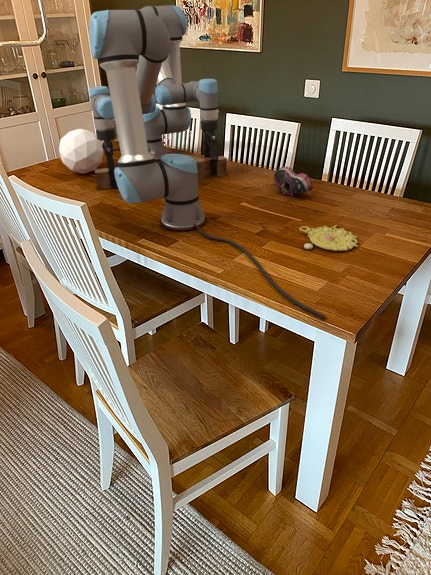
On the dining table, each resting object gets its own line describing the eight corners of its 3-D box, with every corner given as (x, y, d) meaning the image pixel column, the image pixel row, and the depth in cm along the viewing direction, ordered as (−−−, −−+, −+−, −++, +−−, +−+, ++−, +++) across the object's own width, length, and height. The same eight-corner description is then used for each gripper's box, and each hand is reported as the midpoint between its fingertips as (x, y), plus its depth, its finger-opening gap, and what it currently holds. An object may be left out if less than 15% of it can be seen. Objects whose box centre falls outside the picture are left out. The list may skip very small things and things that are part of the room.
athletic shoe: (283, 166, 186) (259, 173, 182) (313, 160, 166) (287, 167, 162) (289, 193, 189) (265, 200, 185) (319, 190, 169) (293, 198, 165)
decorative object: (343, 255, 128) (285, 234, 139) (342, 262, 130) (284, 241, 140) (372, 230, 142) (317, 213, 152) (371, 237, 143) (316, 219, 153)
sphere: (90, 188, 207) (76, 163, 188) (59, 168, 212) (42, 141, 193) (116, 160, 212) (105, 132, 193) (86, 141, 216) (72, 112, 198)
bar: (98, 189, 186) (95, 172, 182) (97, 185, 190) (94, 169, 186) (226, 175, 198) (226, 159, 194) (223, 171, 202) (223, 155, 198)
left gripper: (225, 124, 177) (226, 178, 189) (211, 113, 196) (212, 163, 208) (207, 126, 176) (209, 180, 188) (194, 115, 194) (197, 165, 206)
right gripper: (116, 133, 170) (124, 191, 183) (113, 123, 185) (120, 177, 198) (96, 134, 169) (106, 193, 181) (94, 124, 184) (103, 179, 196)
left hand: (211, 171), depth 198 cm, fingers open, 10 cm apart
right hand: (113, 184), depth 189 cm, fingers closed on bar, 5 cm apart
